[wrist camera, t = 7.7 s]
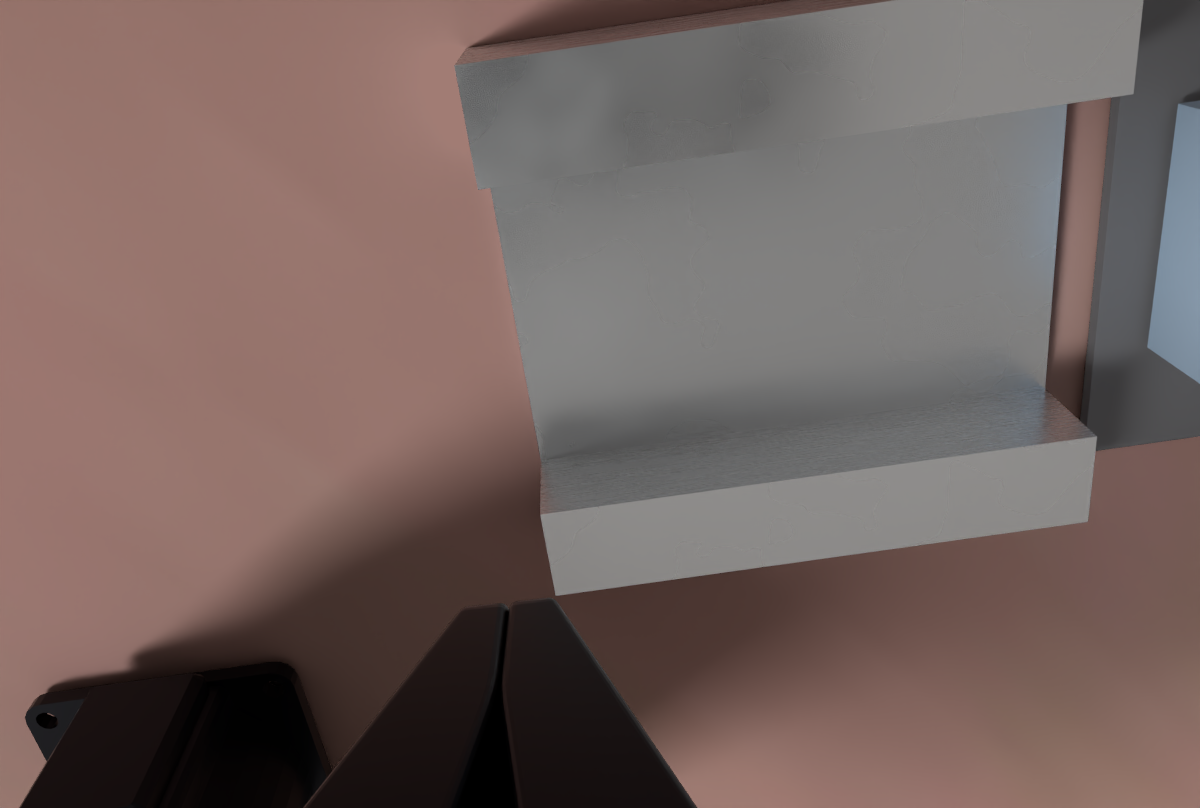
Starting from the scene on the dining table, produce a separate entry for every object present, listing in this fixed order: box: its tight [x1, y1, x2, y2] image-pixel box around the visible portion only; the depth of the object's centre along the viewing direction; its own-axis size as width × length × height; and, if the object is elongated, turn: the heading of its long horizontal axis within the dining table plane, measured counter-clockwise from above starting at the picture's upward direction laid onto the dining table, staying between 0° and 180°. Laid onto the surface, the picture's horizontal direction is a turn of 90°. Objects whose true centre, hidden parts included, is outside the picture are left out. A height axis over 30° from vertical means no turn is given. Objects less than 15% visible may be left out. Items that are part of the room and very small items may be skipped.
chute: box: [454, 0, 1143, 596], centre depth 19 cm, size 11×10×2 cm
